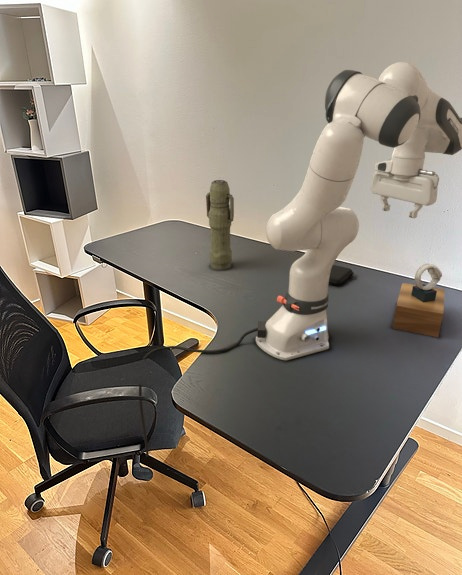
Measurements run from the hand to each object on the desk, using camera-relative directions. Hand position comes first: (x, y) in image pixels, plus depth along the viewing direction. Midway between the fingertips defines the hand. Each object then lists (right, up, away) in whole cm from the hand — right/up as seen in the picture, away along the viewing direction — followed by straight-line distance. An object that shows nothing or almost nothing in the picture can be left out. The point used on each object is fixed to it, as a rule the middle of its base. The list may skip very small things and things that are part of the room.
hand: (398, 214), depth 132 cm
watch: (+10, -25, +5) cm, 28 cm away
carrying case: (-10, -19, +38) cm, 43 cm away
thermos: (-55, -13, +50) cm, 75 cm away
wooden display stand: (+9, -32, +9) cm, 35 cm away
